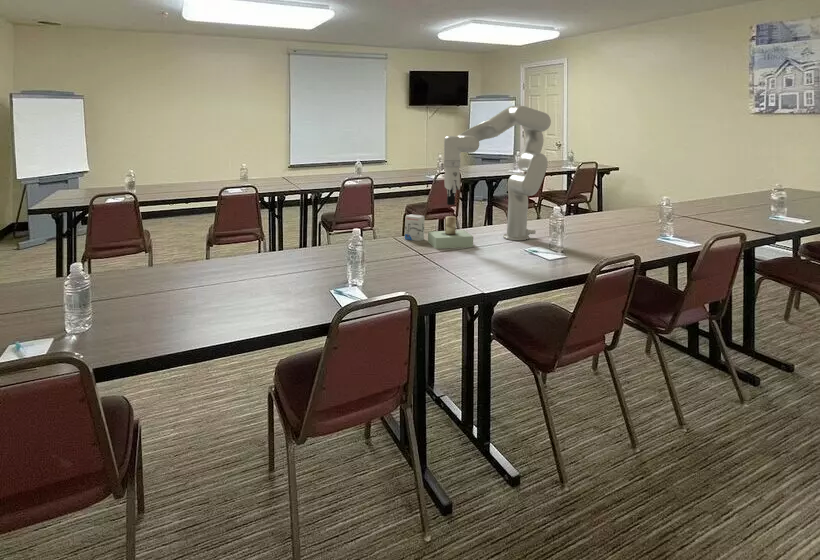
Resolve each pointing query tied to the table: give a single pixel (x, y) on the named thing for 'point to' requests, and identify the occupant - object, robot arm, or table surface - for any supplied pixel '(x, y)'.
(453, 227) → the peg
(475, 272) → the table surface
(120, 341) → the table surface
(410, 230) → the ink box
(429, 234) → the board
